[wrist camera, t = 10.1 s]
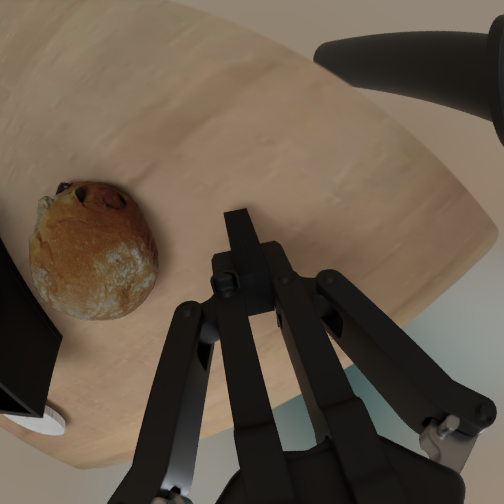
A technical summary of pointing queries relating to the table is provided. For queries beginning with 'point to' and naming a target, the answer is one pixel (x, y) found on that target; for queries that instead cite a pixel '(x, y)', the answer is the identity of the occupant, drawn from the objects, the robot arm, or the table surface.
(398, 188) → the table surface
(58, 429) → the plastic lid
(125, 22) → the table surface
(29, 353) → the black storage bin
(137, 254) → the bread roll
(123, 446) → the table surface
